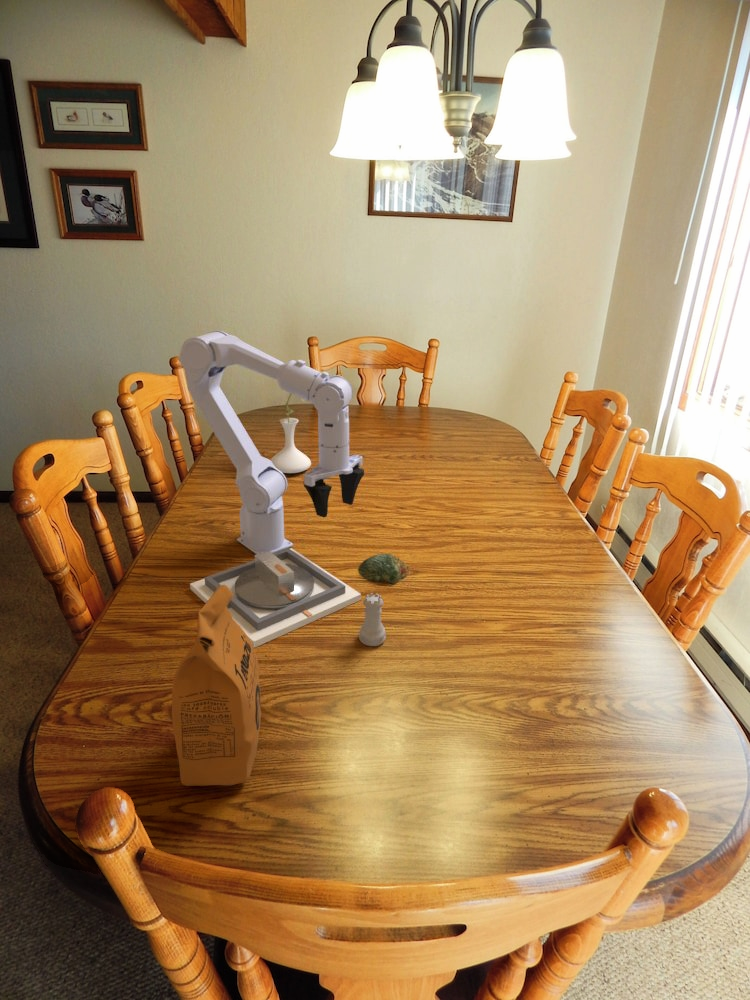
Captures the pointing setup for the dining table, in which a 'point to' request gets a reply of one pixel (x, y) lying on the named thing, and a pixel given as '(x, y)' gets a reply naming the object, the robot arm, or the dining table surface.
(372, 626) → the rook chess piece
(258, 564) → the dial
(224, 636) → the coffee package
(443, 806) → the dining table surface
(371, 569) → the seashell
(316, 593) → the dial panel
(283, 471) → the flower in vase
